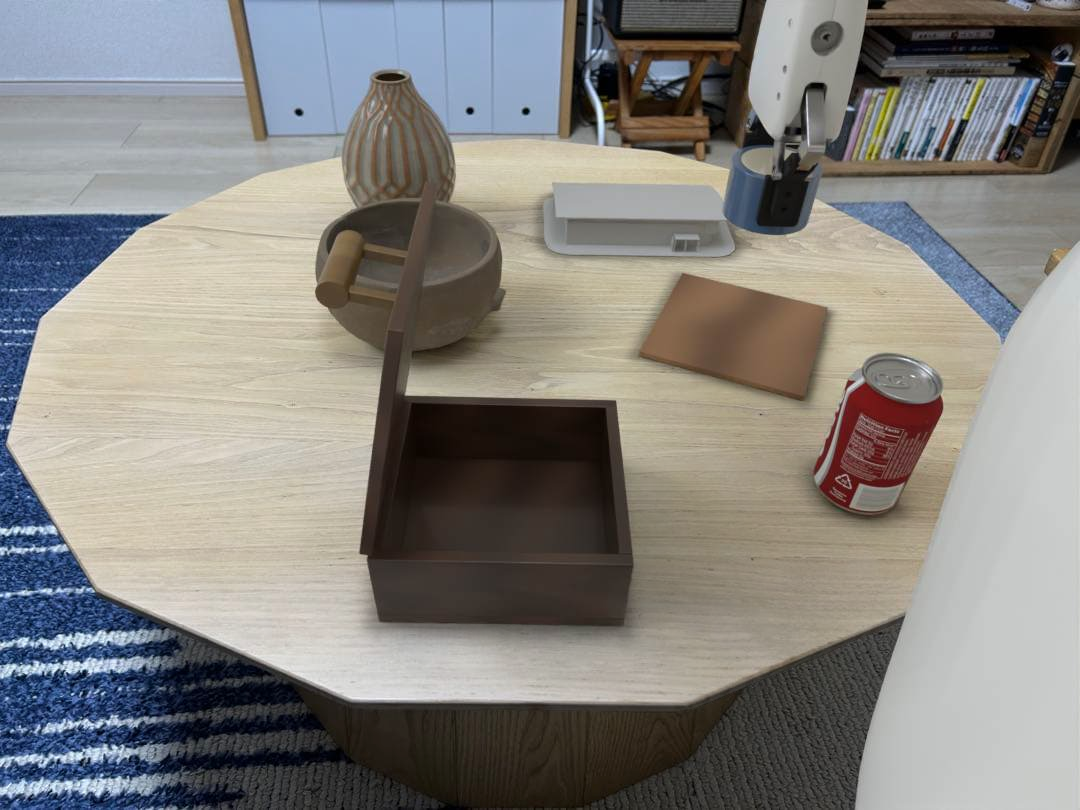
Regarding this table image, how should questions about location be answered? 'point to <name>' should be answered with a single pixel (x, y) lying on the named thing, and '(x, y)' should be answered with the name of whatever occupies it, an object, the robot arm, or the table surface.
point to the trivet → (738, 335)
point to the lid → (400, 335)
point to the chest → (504, 514)
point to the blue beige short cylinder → (759, 190)
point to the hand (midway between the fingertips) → (764, 200)
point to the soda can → (879, 433)
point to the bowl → (449, 279)
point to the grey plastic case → (636, 220)
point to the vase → (396, 144)
